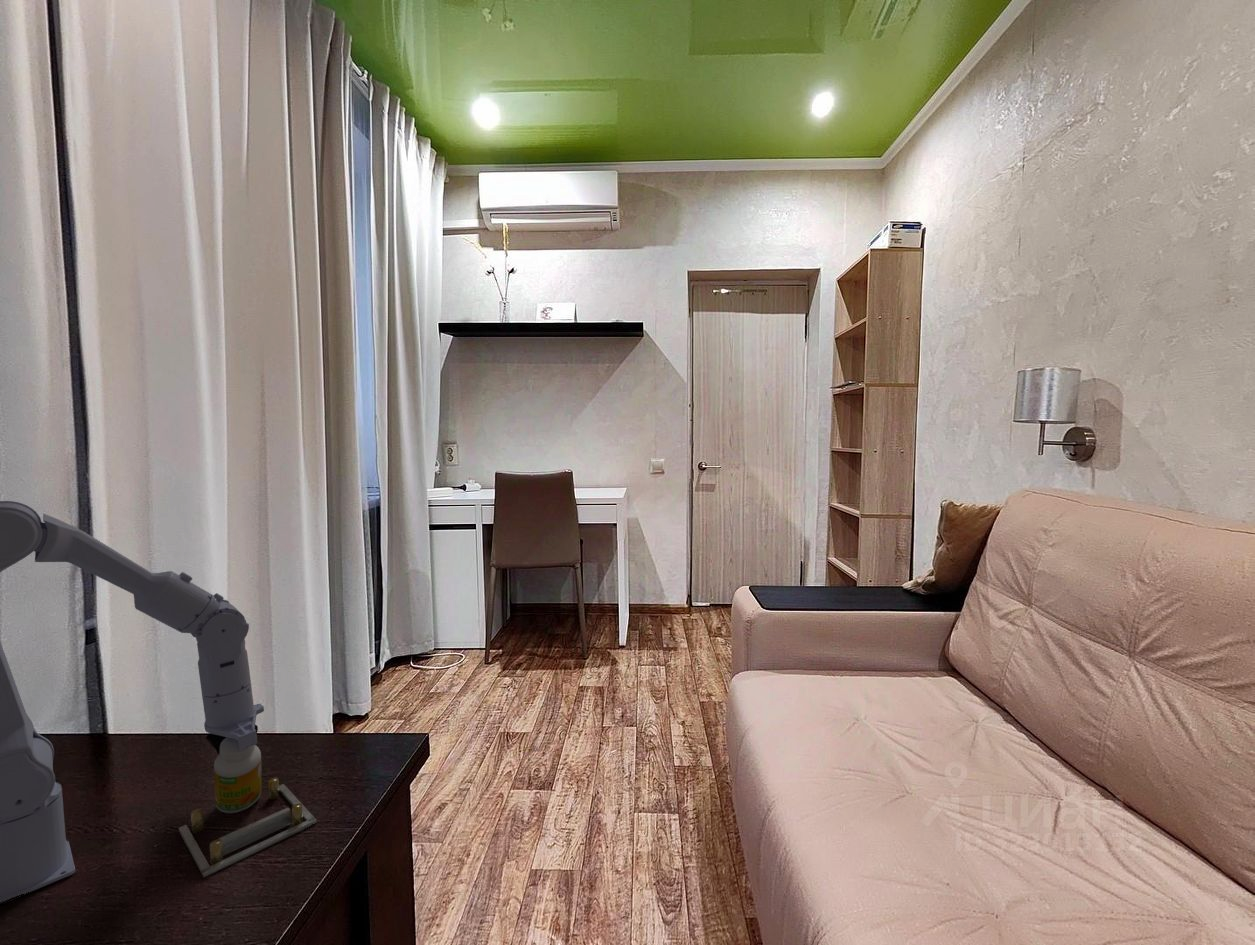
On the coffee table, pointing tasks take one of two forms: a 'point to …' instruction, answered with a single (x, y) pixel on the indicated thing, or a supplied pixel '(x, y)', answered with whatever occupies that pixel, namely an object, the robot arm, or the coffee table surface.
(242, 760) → the supplement bottle
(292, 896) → the coffee table surface
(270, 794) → the frame
